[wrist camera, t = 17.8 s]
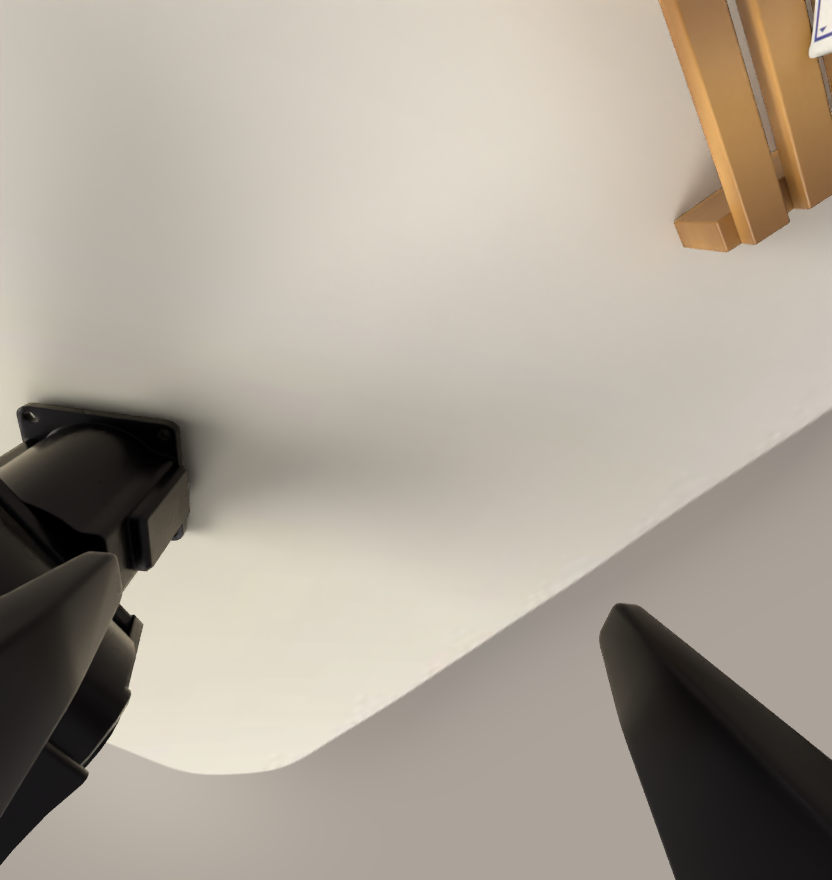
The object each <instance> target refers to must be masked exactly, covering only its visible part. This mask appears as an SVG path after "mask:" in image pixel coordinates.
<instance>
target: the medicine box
mask: <svg viewBox="0 0 832 880" xmlns="http://www.w3.org/2000/svg"><path fill="white" fill-rule="evenodd" d="M830 53H832V0H816V1H815V11H814V24H813V32H812V40H811V45H810V48H809V57H810V58H816V57H820V56H823V55H827V54H830Z"/></svg>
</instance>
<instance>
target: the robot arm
mask: <svg viewBox="0 0 832 880" xmlns="http://www.w3.org/2000/svg"><path fill="white" fill-rule="evenodd" d="M30 412H31V413H33V414H34V415H35V417H36V418H34V417H33V416H31V414H30ZM17 419H18V423H19V427H20V431H21V436H22V440H23V443H21V444H20V445H18V446H17V447H15V448H13V449H12V450H10V451H9V452H7V453H5V454H4V455H2V456H1V457H0V865H1V864H2V863H3V861H4V860H5V859H6V858H7V857H8V855H9V854H10V853H11V852H12V851H13V849H14V848H15V847H16V846H17V845H18V844H19V843H20V842H21V841H22V840H23V839H24V838H25V837H26V836H27V835H28V833H29V832H30V831H32V830H33V828H34V827H35V826H36V825H37V824H38V823H39V822H40V821H41V820H42V819H43V818H44V817H45V816H46V815H47V814H48V813H49V812H50V811H52V810H53V809H54V808H55V807H56V806H57V805H58V804H60V803H61V802H62V801H63V800H64V799H66V798H67V797H68V796H69V795H70V794H71V793H73V792H74V791H75V790H76V789H77V788H78V787H79V786H81V785H82V784H83V783H84V781H85V780H86V779H87V777H88V774H89V772H88V771H87V770H86V769H85V767H86V766H87V765H88V764H89V763H90V762H91V761H92V759H93V758H94V757H95V756H96V755H97V753H98V752H99V751H100V750H101V749H102V747H103V746H104V744H105V743H106V742H107V740H108V739H109V737H110V736H111V734H112V732H113V731H114V729H115V727H116V725H117V723H118V721H119V719H120V717H121V715H122V713H123V712H124V710H125V708H126V707H127V705H128V702H129V699H130V696H131V691H130V690H129V689H128V687H129V683H130V678H131V674H132V670H133V666H134V662H135V659H136V653H137V649H138V645H139V641H140V636H141V632H142V628H143V624H142V623H141V621H140V620H139V619H138V618H137V617H136V616H135V615H130V614H129V613H128V612H127V611H126V610H125V609H124V608H123V607H122V606H121V605H120V604H119V603H120V600H121V596H122V592H123V591H124V590H125V588H126V587H127V585H128V584H129V583H130V581H131V580H132V578H133V577H134V575H135V574H136V573H137V571H148V570H149V569H150V568H152V567H153V566H154V565H155V563H156V562H157V560H158V559H159V557H160V556H161V554H162V553H163V551H164V550H165V548H166V547H167V545H168V544H169V542H170V541H171V540H173V541H174V540H179V539H181V538H182V536H183V535H184V533H185V532H186V517H187V515H188V514H189V512H190V507H189V489H188V471H187V469H186V468H185V466H184V465H182V453H181V437H180V430H179V427H178V426H177V425H176V424H175V423H173V422H171V421H168V420H160V419H153V418H145V417H138V416H130V415H123V414H115V413H108V412H100V411H92V410H85V409H77V408H70V407H62V406H55V405H47V404H40V403H28V404H26V405H24V406H22V407H20V408H19V409H18V410H17ZM163 429H165V430H168V431H169V432H170V434H171V435H170V436H169V435H166V434H165V433H164V432H163ZM599 642H600V648H601V652H602V656H603V659H604V663H605V667H606V671H607V675H608V679H609V683H610V687H611V691H612V694H613V698H614V702H615V706H616V710H617V714H618V717H619V721H620V724H621V727H622V731H623V733H624V736H625V739H626V743H627V745H628V748H629V751H630V754H631V757H632V759H633V762H634V765H635V768H636V771H637V773H638V776H639V779H640V782H641V785H642V787H643V790H644V793H645V796H646V798H647V801H648V804H649V807H650V809H651V813H652V815H653V818H654V821H655V824H656V826H657V829H658V832H659V835H660V838H661V840H662V843H663V846H664V849H665V852H666V854H667V857H668V860H669V863H670V866H671V868H672V871H673V874H674V877H675V879H676V880H832V760H831V759H830V758H828V757H827V756H826V755H825V754H824V753H822V752H821V751H820V750H819V749H817V748H816V747H815V746H814V745H812V744H811V743H810V742H809V741H807V740H806V739H805V738H804V737H802V736H801V735H800V734H799V733H797V732H796V731H795V730H794V729H793V728H791V727H790V726H788V724H786V723H785V722H784V721H782V720H781V719H780V718H779V717H778V716H776V715H775V714H774V713H772V712H771V711H770V710H769V709H767V708H766V707H765V706H764V705H763V704H761V703H760V702H759V701H758V700H756V699H755V698H754V697H753V696H751V695H750V694H749V693H748V692H746V691H745V690H744V689H743V688H741V687H740V686H739V685H738V684H736V683H735V682H734V681H733V680H731V679H730V678H729V677H728V676H726V675H725V674H724V673H723V672H721V671H720V670H719V669H718V668H716V667H715V666H714V665H713V664H711V663H710V662H709V661H708V660H707V659H705V658H704V657H703V656H701V655H700V654H699V653H697V652H696V651H695V650H694V649H693V648H691V647H690V646H689V645H688V644H687V643H685V642H684V641H683V640H682V639H680V638H679V637H678V636H677V635H675V634H674V633H673V632H672V631H670V630H669V629H668V628H667V627H665V626H664V625H663V624H662V623H660V622H659V621H658V620H657V619H655V618H654V617H653V616H652V615H650V614H649V613H648V612H647V611H645V610H644V609H643V608H641V607H640V606H638V605H635V604H626V603H617V604H615V605H614V606H613V608H612V609H611V611H610V613H609V615H608V617H607V619H606V621H605V623H604V625H603V627H602V629H601V631H600V636H599Z"/></svg>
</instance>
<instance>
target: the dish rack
mask: <svg viewBox="0 0 832 880" xmlns="http://www.w3.org/2000/svg"><path fill="white" fill-rule="evenodd" d="M815 1H816V0H811V4H812V9H813V13H814V11H815ZM659 3H660V6H661V9H662V12H663V15H664V18H665V21H666V24H667V26H668V29H669V32H670V35H671V38H672V41H673V44H674V47H675V50H676V53H677V56H678V59H679V61H680V64H681V67H682V70H683V73H684V76H685V79H686V82H687V85H688V88H689V91H690V94H691V97H692V99H693V102H694V105H695V108H696V111H697V114H698V117H699V120H700V123H701V126H702V129H703V132H704V135H705V137H706V140H707V143H708V146H709V149H710V152H711V155H712V158H713V161H714V164H715V167H716V170H717V172H718V175H719V178H720V181H721V184H722V188H721V189H719V190H718V191H716V192H715V193H714V194H712V195H711V196H709V197H708V198H706V199H705V200H704V201H702V202H701V203H699V204H698V205H696V206H695V207H693V208H692V209H691V210H689V211H688V212H686V213H685V214H683V215H682V216H681V217H679V218H678V219H676V220H675V221H674V224H675V227H676V229H677V232H678V234H679V237H680V239H681V242H682V244H683V246H684V247H685V248H694V249H702V250H710V251H719V252H729V251H730V250H732V249H733V248H735V247H736V246H738V245H739V244H741V243H743V244H752V245H755V244H757V243H759V242H761V241H762V240H764V239H765V238H767V237H768V236H770V235H771V234H773V233H774V232H776V231H777V230H779V229H780V228H782V227H783V226H785V225H787V224H788V223H789V222H790V220H789V216H788V212H789V211H791V210H792V209H794V208H795V209H810V208H812V207H814V206H815V205H817V204H819V203H820V202H822V201H823V200H825V199H826V198H828V197H829V196H831V195H832V112H830V109H829V105H828V100H827V96H826V91H825V87H824V82H823V78H822V73H821V69H820V65H819V60H818V57H816V58H810V57H809V48H810V45H811V40H812V29H811V25H810V20H809V16H808V11H807V7H806V2H805V0H736V4H737V8H738V11H739V15H740V18H741V22H742V25H743V29H744V32H745V36H746V40H747V43H748V47H749V50H750V54H751V57H752V61H753V65H754V68H755V72H756V75H757V79H758V82H759V86H760V89H761V93H762V97H763V100H764V104H765V107H766V111H767V114H768V118H769V121H770V125H771V129H772V132H773V136H774V139H775V143H776V146H777V150H776V151H774V152H773V153H771V154H770V150H769V147H768V143H767V140H766V136H765V133H764V130H763V126H762V123H761V119H760V116H759V112H758V109H757V105H756V102H755V98H754V95H753V91H752V88H751V84H750V81H749V77H748V74H747V71H746V67H745V64H744V60H743V57H742V53H741V50H740V46H739V43H738V39H737V36H736V32H735V29H734V25H733V22H732V19H731V15H730V12H729V8H728V5H727V1H726V0H659ZM823 59H824V63H825V68H826V72H827V77H828V81H829V86H830V90H831V95H832V53H830V54H827V55H823Z"/></svg>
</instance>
